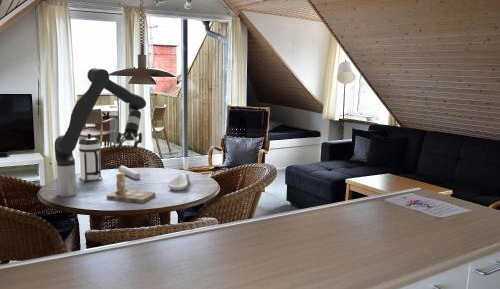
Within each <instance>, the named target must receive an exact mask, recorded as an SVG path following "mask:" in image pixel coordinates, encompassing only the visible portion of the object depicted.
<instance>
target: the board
mask: <svg viewBox="0 0 500 289" xmlns="http://www.w3.org/2000/svg"><path fill="white" fill-rule="evenodd" d="M154 197H156V192H152V191H143V190H133V189H127V192H126V193H125V194H115V191H113V192H111V193H109V194H107V195H106V200H110V201H121V202H127V203H128V202H130V203H138V204H145V203H146V202H148V201H149V200H151V199H153V198H154Z"/></svg>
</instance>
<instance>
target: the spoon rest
mask: <svg viewBox="0 0 500 289" xmlns="http://www.w3.org/2000/svg"><path fill="white" fill-rule="evenodd" d="M190 182H191V179H190V176H189V174H188V173H183V172H181V173H179V174H178V175H177V176H175V177H174V178H173V179H172V180H170V181H168V183H167V187H168V188H169V189H171V190H173V191H176V190H177V191H183V190H184V189H186V187H187V186H188V183H190Z"/></svg>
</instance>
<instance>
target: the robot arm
mask: <svg viewBox="0 0 500 289" xmlns="http://www.w3.org/2000/svg"><path fill="white" fill-rule="evenodd" d="M87 79H88V80H89V82H90V86H89V87H88V89H87V90H86V92H84V94H82V95H81V97H80V98H78V99H77V101H76V103H75V104H74V106H73V108H72V112H71V114H70V118H69V124H68V127H67V129H66V130H65V133H64V134H63V135H62V134H61V135H59V136H57V137H56V139H55V140H54V155H55V161H56V170H57V171H56V173H57V175H56V176H57V177H56V178H55V184H56V186H55V187H56V195H57V196H59V197H62V198H63V197H64V198H65V197H67V198H68V197H72V196H76V195H77V181H76V180H77V177H76V160H75V158H74V155H73V151H75V149H76V147H77V145H78V143H79V140H80V136H81V134H82V131H83V129H84V128H85V126H86V124H87V122H88V120H89V118H90V116H91V114H92V113H93V111H94V108H95V105H96V104H97V102H98V100H99V97H100V96H101V94H102V92H103V91H104V89H105V90H106V91H108V92H109V93H111V94H112V95H113V96H115V97H116V98H118V99H119V100H120V101H122V102H123V103H126V104H128V112H129V113H128V116H127V117H128V118H127V121H126V123H125V127H124V128H125V129H124V132H123V133H121V132H118V133H117V137H116V142H117V144H118V148H119V150H121V149H122V148H123V144H124V143H125V142H127V141H134V143H133V149H134V150H136V149H137V148H138V145H139V144H142V142H143V133H142V132H139V129H140V124H141V123H140V121H141V118H142V113H141V111H140V110H142V109H144V108H145V107H146V106H147V101H146V100H145V98H144V97H142V96H140V95H138V94H135V93H133V92H131V91H130V90H129V89H127V88H126V87H124V86H122V85H120V84H118V83H116V82H115V81H113V80H111V79H110V74H109V71H108V70H106V69H105V68H99V67H93V68H90V69H89V70H88V71H87ZM137 137H138V139H137Z"/></svg>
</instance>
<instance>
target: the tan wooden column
mask: <svg viewBox="0 0 500 289" xmlns="http://www.w3.org/2000/svg"><path fill="white" fill-rule="evenodd" d="M115 174H116V189H115V191H114V192H115V194H125V193H126V192H127V190H128V188H126V175H125V173H121V172H119V171H118V172H117V173H115Z"/></svg>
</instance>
